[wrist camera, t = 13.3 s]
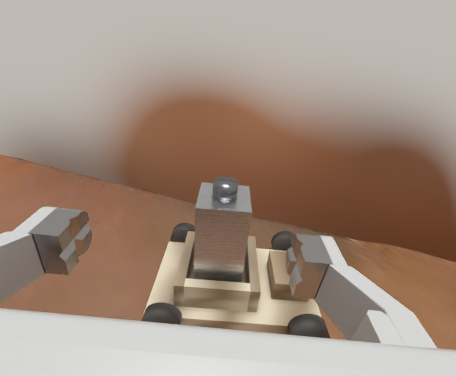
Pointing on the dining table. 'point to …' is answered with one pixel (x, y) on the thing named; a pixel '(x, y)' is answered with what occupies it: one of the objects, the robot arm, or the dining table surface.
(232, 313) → the chassis
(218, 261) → the silver tall block
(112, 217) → the dining table surface
